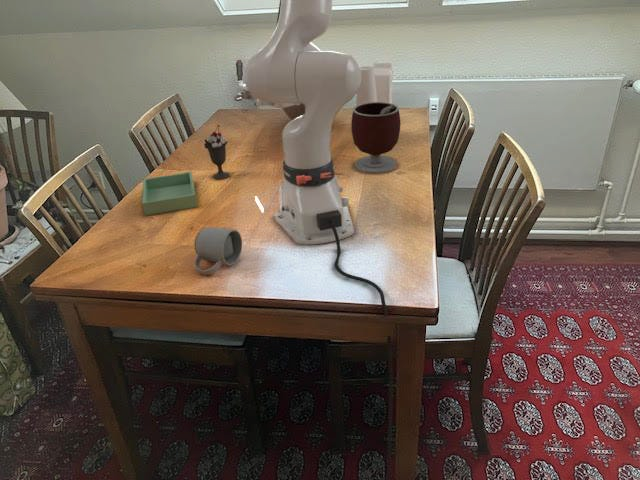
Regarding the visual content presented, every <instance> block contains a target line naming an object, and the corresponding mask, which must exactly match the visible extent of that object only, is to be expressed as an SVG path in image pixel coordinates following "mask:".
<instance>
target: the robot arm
mask: <svg viewBox="0 0 640 480" xmlns="http://www.w3.org/2000/svg"><path fill="white" fill-rule="evenodd" d="M332 14H333V0H279V5H278V11H277V19H276V26H275V30H274V32H273V34H272V36H271V37H270V39H269V40H268V42H266V44H265V45H264V46H263V47H262V48H261V49H260V50H259V51H258V52H257V53H255V54H254V55H252V56H251V58H250V59H249V60H248V61H247V64H246V66H245V69H244V83H243V84H240V85H238V86H237V93H235V94H233V100H234V101H235V102H241V101H242V100H247V101H250V102H253V105H254V107H257V108H258V107H263V106H264V107H265V106H271V107H275V108H278V109H282V108H285V107H289V106H297V105H300V103H301V104H304V105H305V114H303V115H301V116H299V117H297V118H295V119H293V120H290V121H289V122H288V123H287V124H286V125H285V126H284V128H283V130H282V133H281V139H282V149H283V157H284V158H283V161H282V172H283V177H284V180H283V181H282V183H281V184H280V185H279V186H278V194H279V195H278V197H279V211H277V212H276V213H275V214H274V221H275V222H276V223H277V224H278V225H279V226H280V227H281V228H282V229H283V230H284V231H285V233H286V234H288V236H289V237H291V239H293V241H294V242H295V243H296V244H298V245H308V246H309V245H320V244H326V243H332V242H335V243H336V258H335V260H334V268H335V270H336V271H337V272H338V273H339V274H340V275H342V276H343V277H346V278H348V279H351V280H355V281H358V282H362V283H365V284H368V285H369V286H371V287H372V288H374V289H375V290H376V291H377V292H378V294H379V297H380V303H381V308H382V313H383V316H384V317H388V316H389V312H388V308H387V304H386V299H385V298H386V297H385V294H384V291H383V290H382V289H381V288H380V286H379V285H378V284H376V283H375V282H373V281H371V280H370V279H367V278H364V277H361V276H356V275H353V274H349V273H347V272H345V271H343V270H342V269H341V268H340V266H339V262H340V261H339V260H340V257H341V251H342V250H341V244H340V240H343V239H346V238H349V237H350V236H352V235H354V234H355V228H354V224H353V221H352V217H351V213H350V210H349V197H348V196H341V193H343V192H344V189H343V186H341V185H340V186H339V181H338V178H339V177H338V176H337V175H335V165H334V164H335V163H334V161H333V158H332V156H331V155H332V154H331V153H332V151H331V137H332V127H333V123H334V121H335V118H336V116H337V115H338V113H339V112H340V111H341V109H342V108H343V107H344V106H345V105H346V104H347V103H349V102H350V101H351V100H353V98H355V96H356V95H357V91H358V89H359V86H360V82H361V73H360V69H359V67H360V66H359V64H358V62H357V60H356V59H355V58H354V57H353V56H352V55H351V54H348V53H343V52H337V51H333V50H321V49H319V48H318V46H316V45H315V44H314V43H312V42H313V41H314V40H316V39H318V38H320V37H322V36H323V35H324V34H325V33H326V32H327V31H328V30H329V27H330V25H331V24H332ZM254 198H255V199H254V200H255V202H256V204H257V205H258V207H259V210H260V211H261V213H264V207H263V206H262V204H261V202H260V200H259V198H258V197H257V196H254ZM386 341H387V353H388V355H387V357H388V427H387V428H388V430H387V469H386V471H387V474H386V475H387V477H388V478H390V477H391V476H392V475H391V474H392V473H391V472H392V469H391V468H392V462H391V461H392V436H393V435H392V433H393V431H392V430H393V403H394V402H393V399H394V372H393V371H394V370H393V368H394V367H393V347H392V335H390V334H389V335H387V336H386Z"/></svg>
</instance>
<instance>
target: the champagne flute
mask: <svg viewBox="0 0 640 480" xmlns="http://www.w3.org/2000/svg"><path fill="white" fill-rule="evenodd" d="M359 69H360V73H361V82H360V86H359V89H358V91H357V93H356V95H355V96H356V97H355V106H357V105H360V104H364V103H370V102H377V95H376V84H375V73H374V66H372V65H362V66H359Z"/></svg>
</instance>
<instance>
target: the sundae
mask: <svg viewBox="0 0 640 480" xmlns="http://www.w3.org/2000/svg"><path fill="white" fill-rule="evenodd" d="M220 126H221V125H220V124H218V125H217V127H216V129H215V131H212V134H209V136H208V137H207V139H206V138H205V139H204V146H203V147H204V148H205V149H207V151H208V155H209V159H210V160H211V163H212V164H214V165H215V166H217V172H216V173H214V174H213V175H212V178H213V179H214V180H224V179H228V178H229V177H230V173H229V172H226V171H224V170H223V166H222V165H224V164H225V162H226V158H227V157H226V156H227V154H226V153H227V152H226V149H227V147H226V145H227V144H228V143H229V142H228V141H226V139H225V138H224V136H222V133H221V132H220ZM217 130H218V132H216V131H217Z"/></svg>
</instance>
